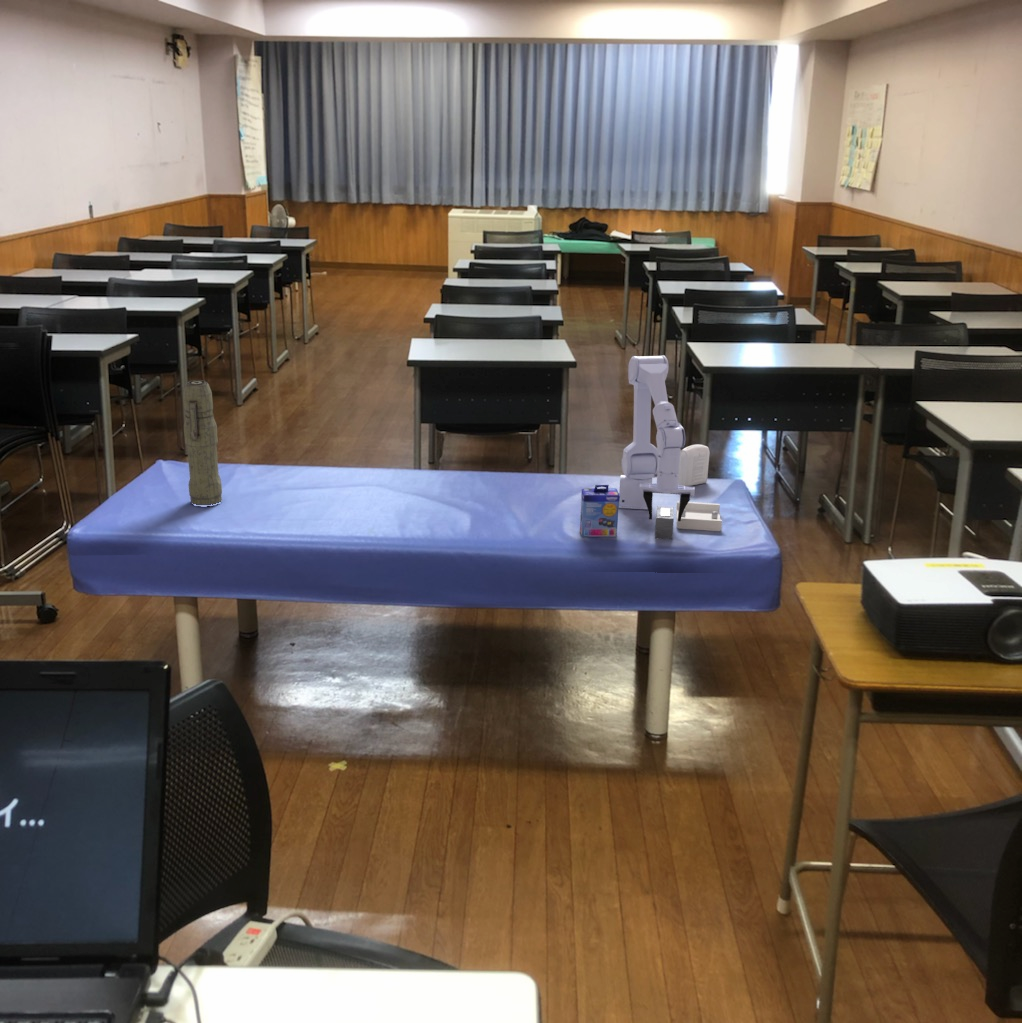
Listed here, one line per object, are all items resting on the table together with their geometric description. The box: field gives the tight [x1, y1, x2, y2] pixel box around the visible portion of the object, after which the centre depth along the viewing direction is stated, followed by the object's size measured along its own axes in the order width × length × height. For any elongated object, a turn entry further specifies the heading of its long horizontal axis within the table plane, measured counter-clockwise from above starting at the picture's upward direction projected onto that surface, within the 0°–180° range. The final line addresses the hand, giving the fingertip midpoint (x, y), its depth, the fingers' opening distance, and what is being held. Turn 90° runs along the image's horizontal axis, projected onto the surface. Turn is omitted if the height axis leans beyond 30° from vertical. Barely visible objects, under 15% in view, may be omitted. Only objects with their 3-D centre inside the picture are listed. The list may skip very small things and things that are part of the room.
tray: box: [675, 500, 723, 532], centre depth 301 cm, size 12×14×3 cm
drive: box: [654, 506, 675, 540], centre depth 291 cm, size 4×9×6 cm, turn 172°
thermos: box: [182, 379, 223, 505], centre depth 302 cm, size 9×12×35 cm
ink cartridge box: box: [579, 484, 620, 538], centre depth 288 cm, size 10×6×14 cm, turn 95°
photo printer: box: [678, 443, 711, 487], centre depth 330 cm, size 10×4×12 cm, turn 123°
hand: (664, 519), depth 291 cm, fingers open, 7 cm apart
